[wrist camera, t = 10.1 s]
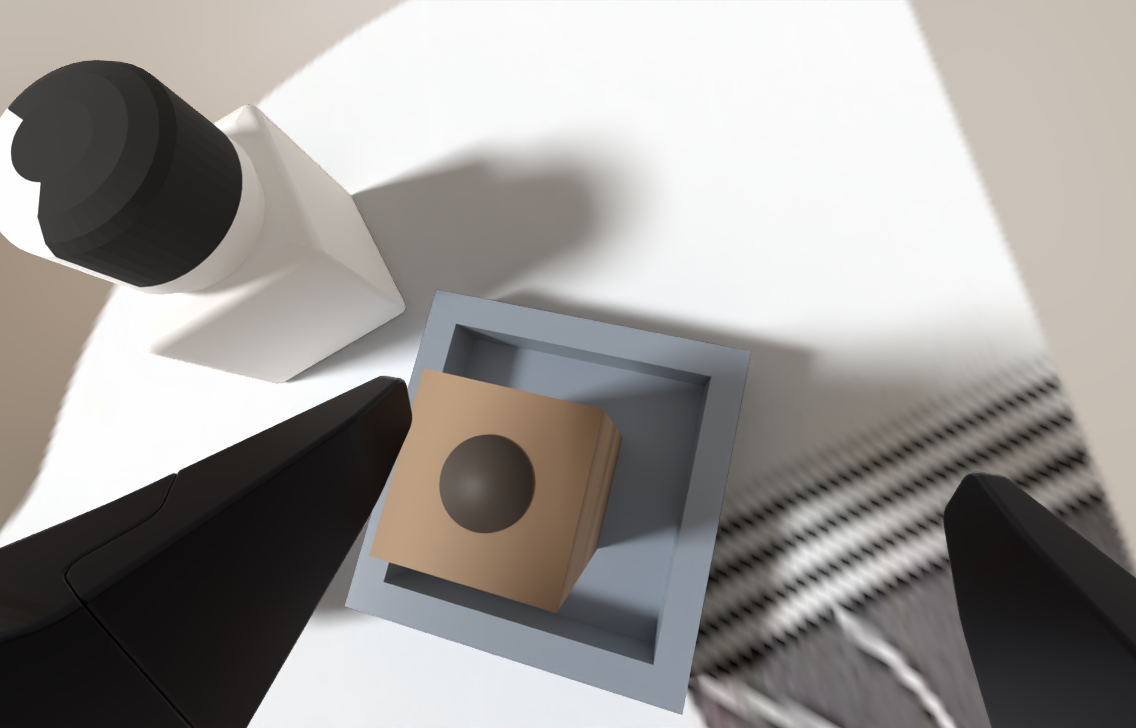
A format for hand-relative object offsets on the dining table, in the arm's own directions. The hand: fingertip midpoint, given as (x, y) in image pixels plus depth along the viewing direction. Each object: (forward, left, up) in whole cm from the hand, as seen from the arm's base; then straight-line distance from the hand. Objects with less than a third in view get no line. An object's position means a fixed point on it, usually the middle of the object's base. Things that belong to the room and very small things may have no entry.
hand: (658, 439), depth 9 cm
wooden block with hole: (-3, -3, -13) cm, 14 cm away
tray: (-3, -3, -14) cm, 14 cm away
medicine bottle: (-18, 0, -14) cm, 23 cm away
